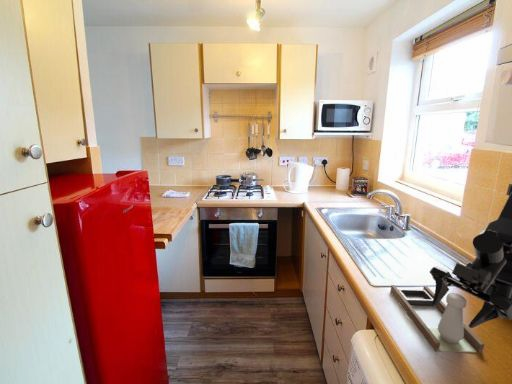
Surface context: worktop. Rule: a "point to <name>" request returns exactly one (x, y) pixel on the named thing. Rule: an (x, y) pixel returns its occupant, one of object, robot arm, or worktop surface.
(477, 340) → the walnut channel
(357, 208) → the worktop surface
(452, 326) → the salt shaker
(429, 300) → the black tray
